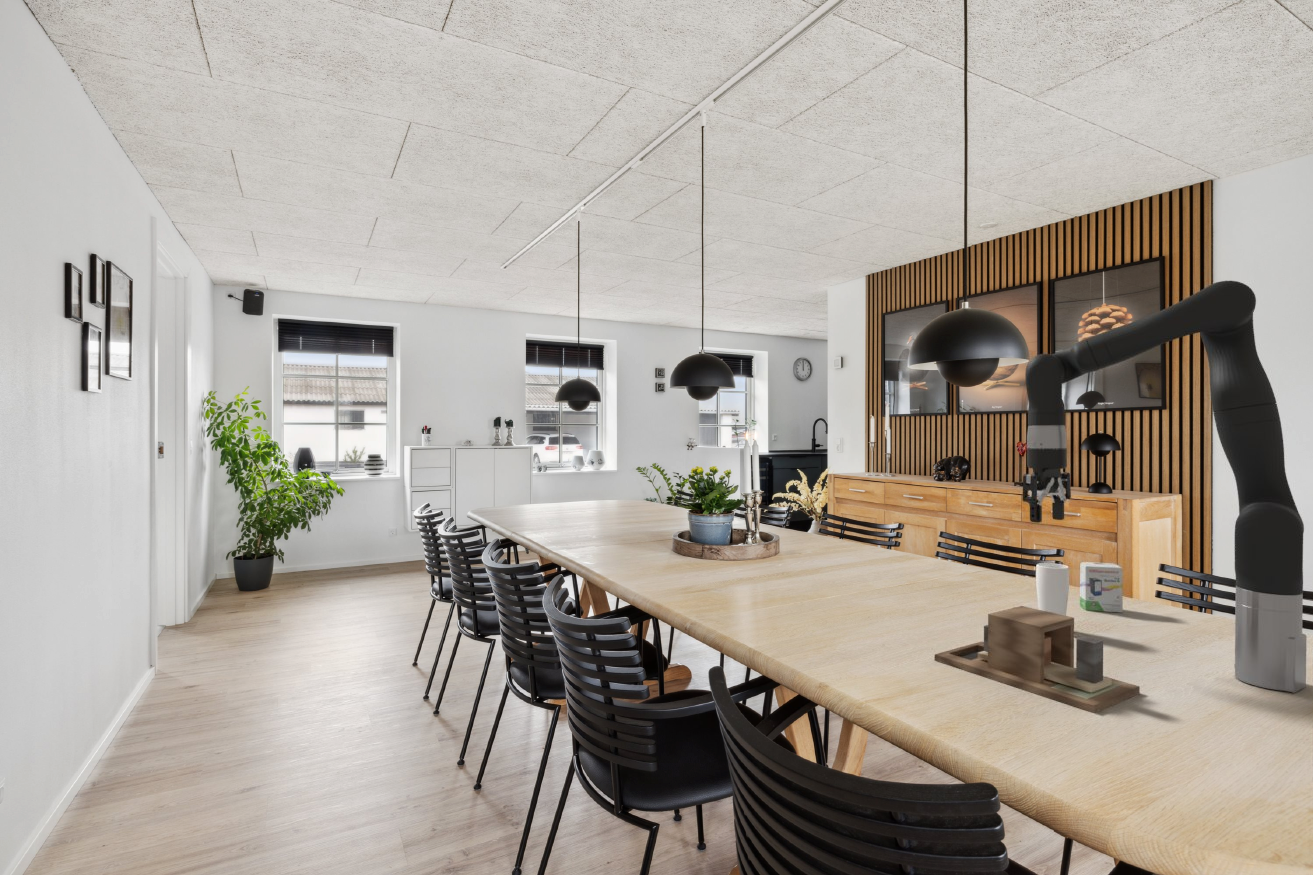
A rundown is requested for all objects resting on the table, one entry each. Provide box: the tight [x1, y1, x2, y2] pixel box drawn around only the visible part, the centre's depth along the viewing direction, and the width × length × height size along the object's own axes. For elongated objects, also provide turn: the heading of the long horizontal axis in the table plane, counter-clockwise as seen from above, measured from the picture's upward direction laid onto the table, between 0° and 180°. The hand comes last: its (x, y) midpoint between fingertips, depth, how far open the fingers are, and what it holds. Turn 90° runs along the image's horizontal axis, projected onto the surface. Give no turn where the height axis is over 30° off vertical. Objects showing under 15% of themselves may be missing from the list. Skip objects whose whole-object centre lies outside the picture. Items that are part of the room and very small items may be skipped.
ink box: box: [1079, 561, 1124, 613], centre depth 177 cm, size 9×5×12 cm, turn 73°
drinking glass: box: [1035, 562, 1070, 616], centre depth 159 cm, size 7×7×15 cm
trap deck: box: [934, 605, 1141, 714], centre depth 129 cm, size 30×16×11 cm, turn 32°
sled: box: [978, 624, 1113, 693], centre depth 127 cm, size 21×7×8 cm, turn 32°
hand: (1047, 520), depth 148 cm, fingers open, 8 cm apart
